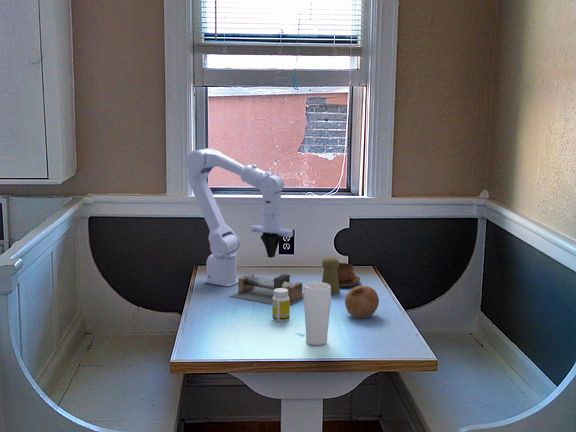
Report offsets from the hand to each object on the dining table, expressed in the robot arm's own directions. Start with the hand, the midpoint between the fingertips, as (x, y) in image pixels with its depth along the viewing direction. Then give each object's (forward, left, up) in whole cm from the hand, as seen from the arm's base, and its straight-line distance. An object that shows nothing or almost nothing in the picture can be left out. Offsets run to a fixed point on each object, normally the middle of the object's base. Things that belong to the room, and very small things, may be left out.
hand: (271, 256), depth 229 cm
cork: (+18, +6, -11) cm, 22 cm away
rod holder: (+4, -7, -10) cm, 13 cm away
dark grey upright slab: (+8, -7, -10) cm, 15 cm away
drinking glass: (+35, -35, -11) cm, 50 cm away
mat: (+4, -7, -10) cm, 13 cm away
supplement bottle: (+18, -24, -11) cm, 32 cm away
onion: (+36, -10, -11) cm, 39 cm away
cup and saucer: (+17, +17, -11) cm, 26 cm away
